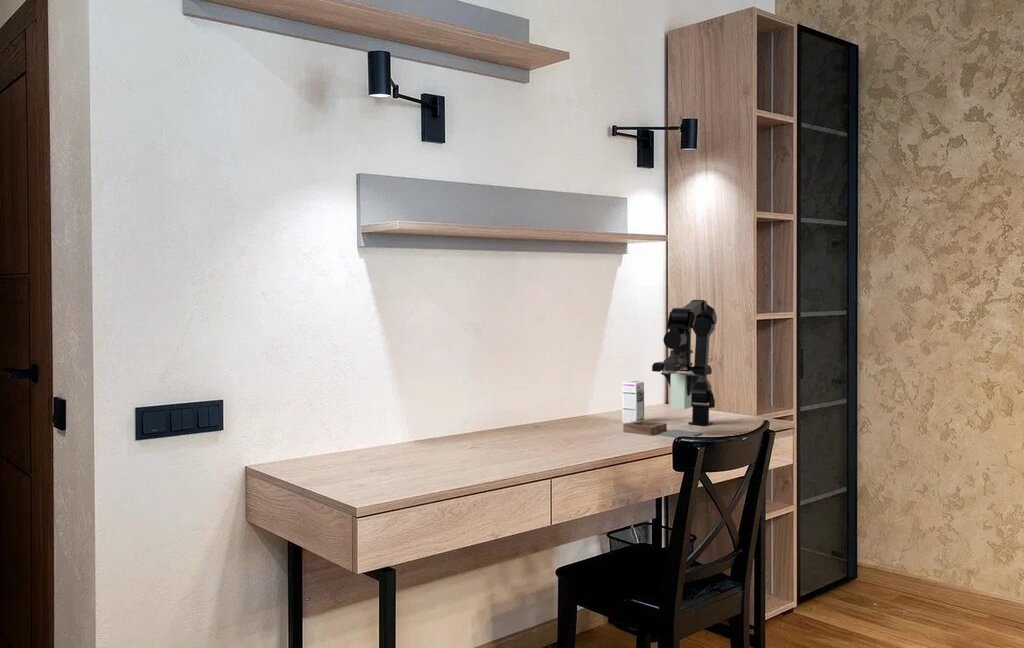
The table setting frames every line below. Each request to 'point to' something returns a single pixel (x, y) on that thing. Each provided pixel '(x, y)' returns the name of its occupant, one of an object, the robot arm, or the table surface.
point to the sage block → (679, 391)
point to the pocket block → (644, 427)
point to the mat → (679, 433)
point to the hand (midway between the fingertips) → (681, 395)
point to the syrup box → (632, 401)
